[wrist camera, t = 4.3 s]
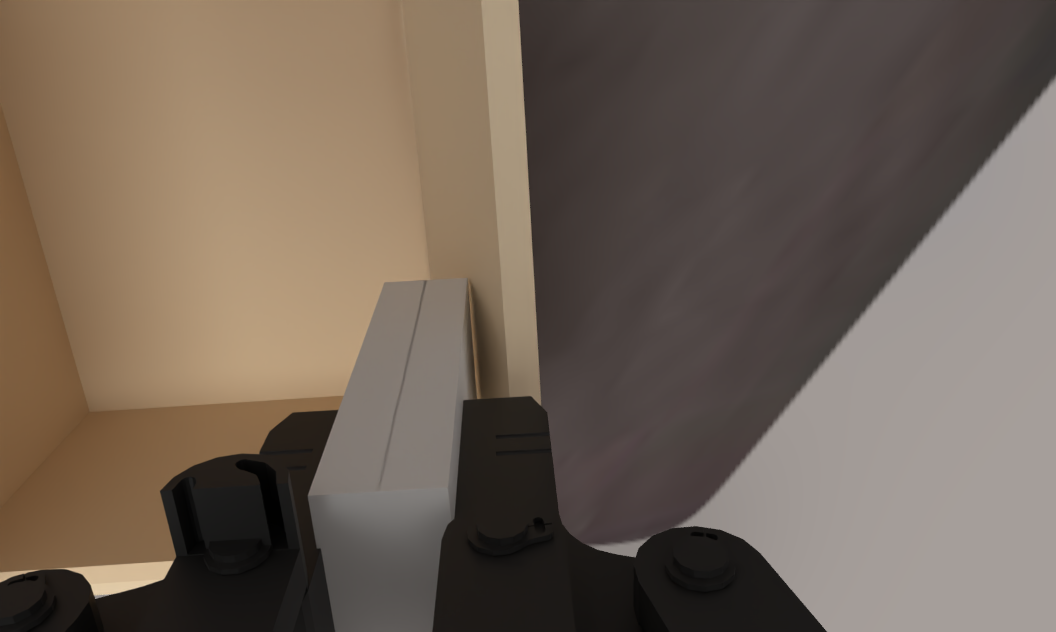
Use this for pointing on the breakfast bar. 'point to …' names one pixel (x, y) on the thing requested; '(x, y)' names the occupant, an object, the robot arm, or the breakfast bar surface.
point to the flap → (477, 177)
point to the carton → (184, 248)
